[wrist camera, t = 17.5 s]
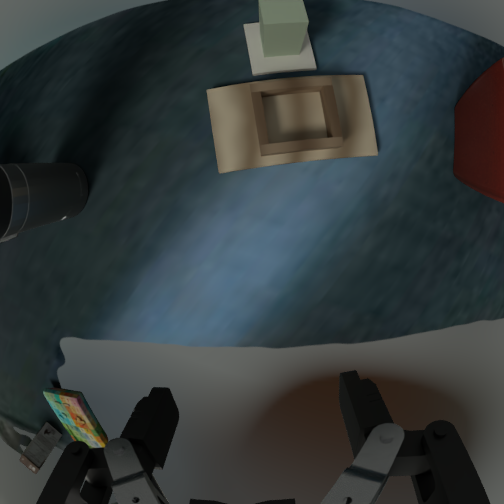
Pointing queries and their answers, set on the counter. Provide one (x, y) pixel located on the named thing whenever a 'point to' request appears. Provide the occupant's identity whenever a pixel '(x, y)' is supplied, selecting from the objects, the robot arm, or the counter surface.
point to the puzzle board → (291, 121)
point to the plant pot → (482, 134)
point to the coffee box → (40, 447)
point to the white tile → (278, 62)
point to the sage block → (282, 26)
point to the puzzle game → (76, 416)
